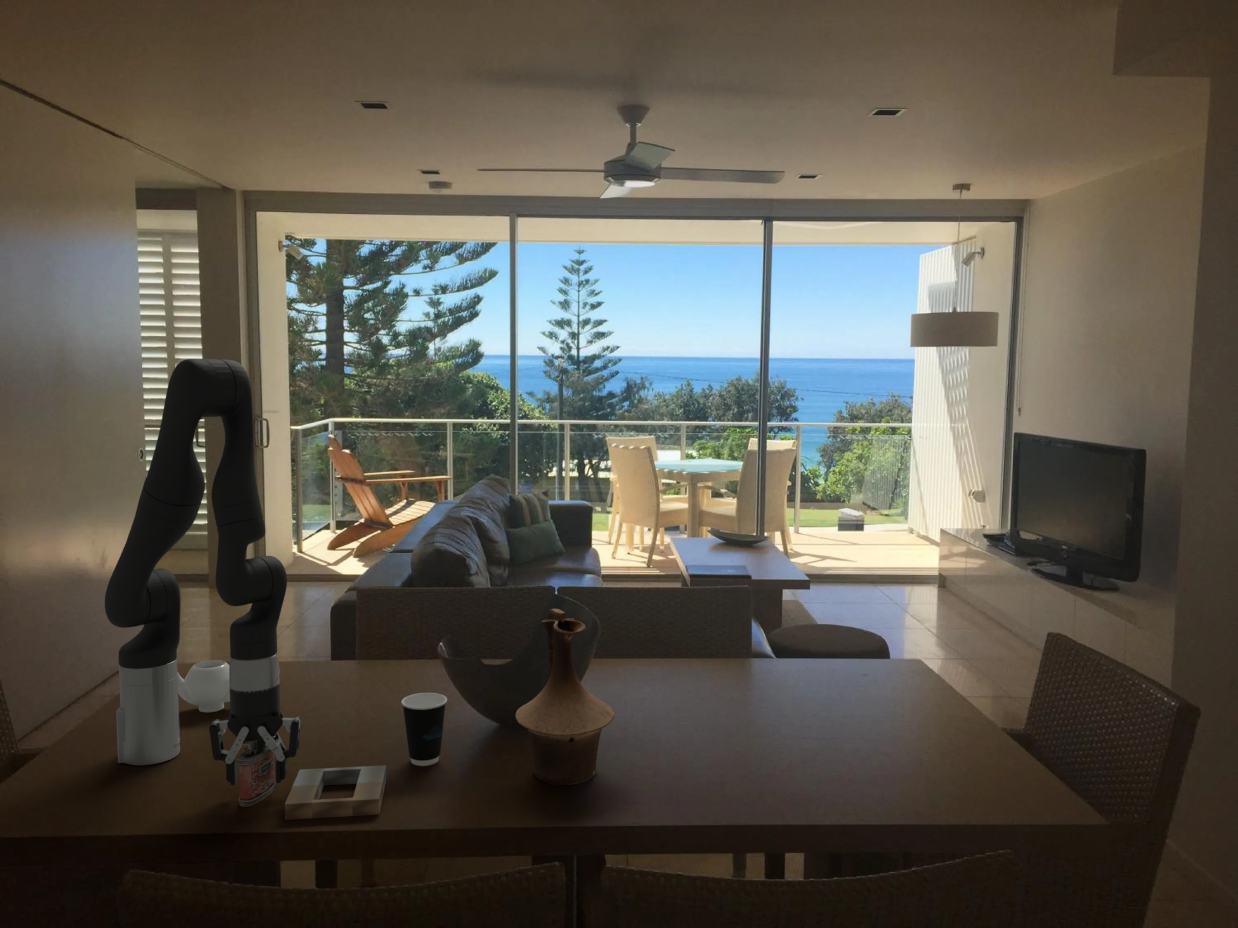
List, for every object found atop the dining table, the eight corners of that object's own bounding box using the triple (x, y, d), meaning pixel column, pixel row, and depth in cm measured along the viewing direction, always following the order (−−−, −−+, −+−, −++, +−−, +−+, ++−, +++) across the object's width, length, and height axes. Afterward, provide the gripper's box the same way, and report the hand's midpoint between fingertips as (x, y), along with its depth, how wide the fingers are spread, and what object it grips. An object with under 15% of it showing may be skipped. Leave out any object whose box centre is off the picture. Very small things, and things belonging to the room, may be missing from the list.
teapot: (168, 701, 200) (167, 657, 199) (268, 699, 202) (267, 655, 201) (150, 718, 190) (149, 672, 189) (255, 715, 192) (254, 670, 191)
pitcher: (502, 760, 171) (502, 605, 169) (591, 746, 178) (592, 597, 176) (533, 800, 155) (533, 630, 153) (630, 783, 162) (632, 620, 159)
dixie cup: (436, 771, 166) (436, 709, 165) (394, 766, 168) (393, 705, 167) (454, 753, 174) (454, 694, 173) (413, 749, 176) (413, 690, 175)
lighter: (252, 807, 152) (251, 745, 151) (233, 804, 153) (231, 743, 152) (280, 785, 160) (279, 727, 159) (262, 783, 161) (260, 725, 160)
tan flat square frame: (285, 819, 148) (284, 803, 148) (300, 783, 161) (299, 769, 160) (379, 814, 150) (378, 798, 150) (386, 779, 163) (386, 765, 163)
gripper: (200, 691, 150) (204, 794, 151) (297, 687, 152) (299, 789, 154) (213, 676, 157) (216, 775, 159) (305, 672, 159) (307, 770, 161)
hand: (257, 782), depth 156 cm, fingers open, 6 cm apart
